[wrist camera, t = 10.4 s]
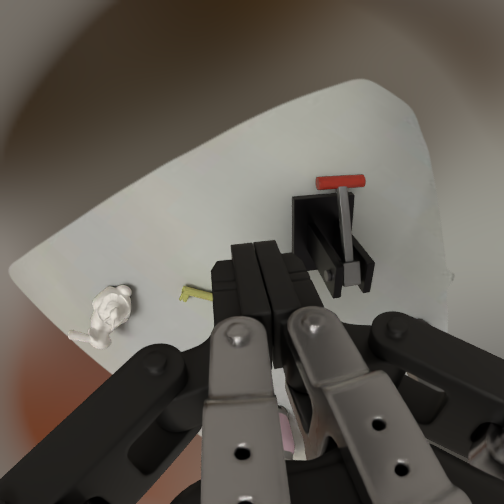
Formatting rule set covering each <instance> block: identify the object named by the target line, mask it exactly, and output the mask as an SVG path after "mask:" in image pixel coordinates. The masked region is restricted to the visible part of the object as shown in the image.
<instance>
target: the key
mask: <svg viewBox="0 0 504 504" xmlns="http://www.w3.org/2000/svg"><path fill="white" fill-rule="evenodd" d="M189 295H190V296H194V297H198V298H202V299H206V300H210V301H213V297H212V293H209V292H205V291H202V290H198V289H194V288H191V287H187V286H183V289H182V294H181V296H180V298H179V300H180V301H181V300H182V299H183V301H184V302H186V301H187V299H188V297H189Z"/></svg>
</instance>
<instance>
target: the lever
mask: <svg viewBox="0 0 504 504" xmlns="http://www.w3.org/2000/svg"><path fill="white" fill-rule="evenodd" d="M365 183H366V181H365V177H364V175H362V174H361V175H341V176H323V177H316V188H317V190H326V189H336V192H337V201H338V211H339V221H340V233H341V245H342V259H343V260H341V263H342V265H343V266H344V274H343V282H342V285H343V286H344V287H347V286H353V285H359V284H361V274H360V261H357V260H354V259H353V247H352V234H351V222H350V211H349V201H348V191H347V188H356V187H364V186H365Z"/></svg>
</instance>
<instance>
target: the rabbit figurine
mask: <svg viewBox="0 0 504 504" xmlns="http://www.w3.org/2000/svg"><path fill="white" fill-rule="evenodd" d="M131 293H132V292H131V289H130V288H129V287H128V286H126V285H119V286H117V287H116V288H114V287H111V286H108V287H107V288H105V289H104V290H102V291H101V292H100V293H99V294H98V295H97V296H96V297H95V298H94V300H93V303H92V306H93V308H94V313H93V314H92V316H91V328H89V329H88V334H89V335H87V334H84V333H81V332H78V331H75V330H70V331H69V332H68V338H69V339H70V340H77V341H82V342H89V343H90V344H91V345H92V346H93V347H95V348H97V349H106V348H108V347H109V346H110V344H111V339H110V337H109V334H110V333H112V332H113V330H114V329H115V328H117V327H118V326H119V325H120V324H123V323H125V322H126V321H127V320H128V318H129V316H130V313H131V299H130V295H131Z"/></svg>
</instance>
